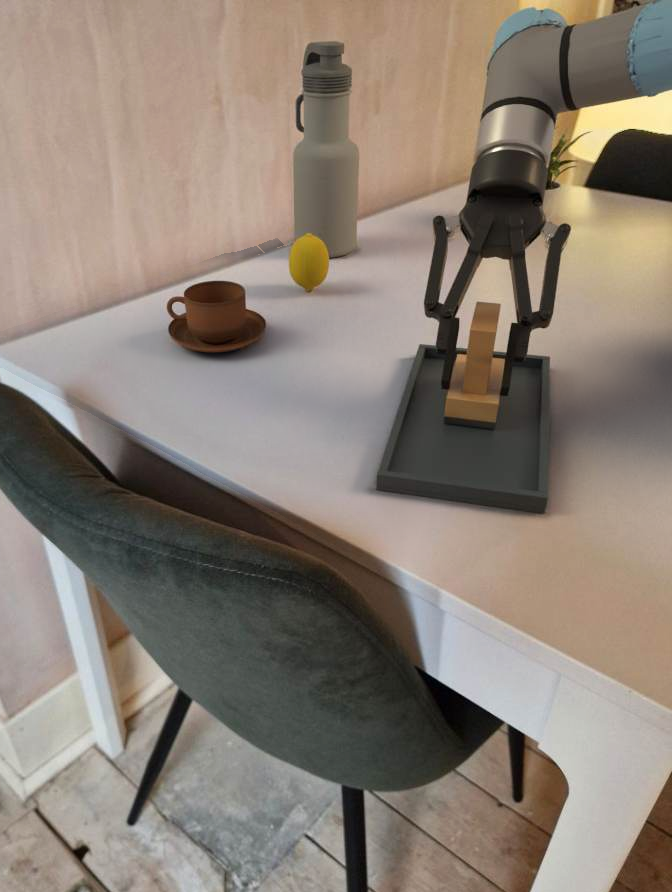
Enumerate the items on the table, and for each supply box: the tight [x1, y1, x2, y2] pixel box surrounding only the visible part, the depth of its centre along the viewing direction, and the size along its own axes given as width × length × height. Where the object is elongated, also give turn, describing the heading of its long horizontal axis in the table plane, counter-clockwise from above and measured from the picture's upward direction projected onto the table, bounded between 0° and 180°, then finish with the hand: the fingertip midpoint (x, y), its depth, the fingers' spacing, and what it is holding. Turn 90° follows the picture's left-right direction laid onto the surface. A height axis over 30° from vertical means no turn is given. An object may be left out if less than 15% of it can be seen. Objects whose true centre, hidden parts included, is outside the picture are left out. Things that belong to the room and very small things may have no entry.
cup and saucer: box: [166, 280, 267, 353], centre depth 93 cm, size 12×12×6 cm
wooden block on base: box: [444, 301, 505, 429], centre depth 77 cm, size 10×5×10 cm, turn 164°
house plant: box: [543, 118, 593, 223], centre depth 124 cm, size 14×14×16 cm
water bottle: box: [292, 40, 360, 259], centre depth 112 cm, size 10×10×28 cm
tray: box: [375, 343, 551, 514], centre depth 77 cm, size 28×15×2 cm, turn 164°
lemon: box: [288, 233, 330, 292], centre depth 104 cm, size 6×6×8 cm
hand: (474, 388), depth 75 cm, fingers closed on wooden block on base, 5 cm apart
